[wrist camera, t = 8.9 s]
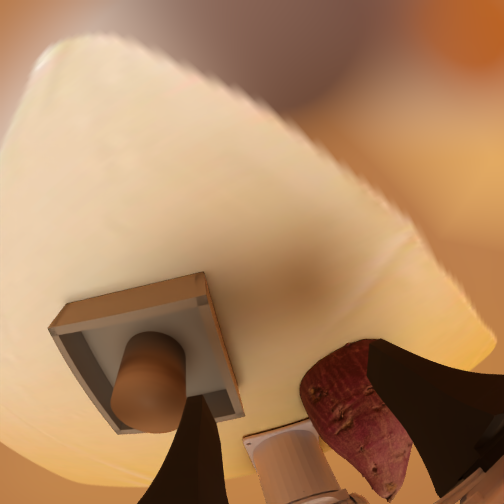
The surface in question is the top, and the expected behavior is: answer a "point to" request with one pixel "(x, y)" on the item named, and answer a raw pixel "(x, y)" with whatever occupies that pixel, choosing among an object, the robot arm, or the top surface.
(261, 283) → the top surface
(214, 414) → the grey bin
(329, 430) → the vegetable
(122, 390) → the walnut cylinder
